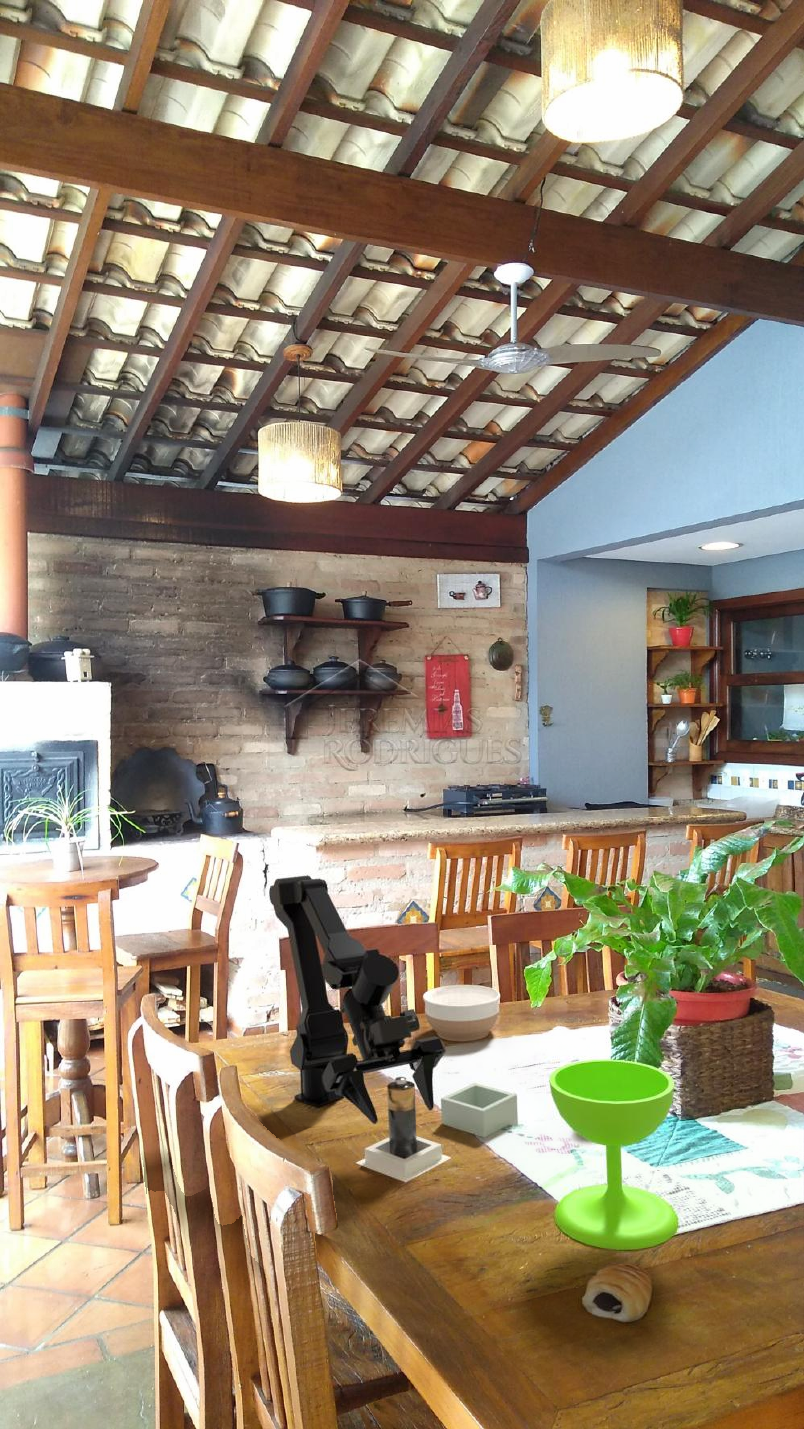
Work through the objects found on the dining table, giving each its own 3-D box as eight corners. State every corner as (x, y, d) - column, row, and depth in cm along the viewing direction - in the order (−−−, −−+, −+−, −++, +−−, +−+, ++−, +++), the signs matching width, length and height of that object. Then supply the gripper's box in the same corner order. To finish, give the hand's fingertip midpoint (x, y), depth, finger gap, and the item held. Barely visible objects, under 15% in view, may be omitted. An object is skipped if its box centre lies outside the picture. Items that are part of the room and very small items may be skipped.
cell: (384, 1161, 153) (381, 1079, 153) (402, 1152, 156) (399, 1072, 156) (404, 1168, 150) (401, 1085, 150) (423, 1159, 153) (420, 1077, 153)
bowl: (504, 1044, 207) (503, 1004, 207) (424, 1046, 207) (422, 1007, 207) (498, 1020, 223) (497, 983, 223) (423, 1022, 223) (422, 985, 223)
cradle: (355, 1169, 153) (355, 1149, 153) (401, 1147, 160) (401, 1127, 160) (406, 1189, 146) (405, 1167, 146) (451, 1164, 153) (451, 1144, 153)
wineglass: (531, 1205, 140) (526, 1072, 140) (630, 1180, 146) (625, 1052, 146) (599, 1262, 125) (593, 1112, 125) (705, 1231, 131) (701, 1089, 131)
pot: (442, 1129, 166) (441, 1098, 166) (475, 1113, 172) (474, 1083, 172) (484, 1143, 160) (483, 1111, 160) (517, 1125, 166) (516, 1094, 166)
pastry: (610, 1273, 123) (609, 1241, 123) (666, 1290, 119) (665, 1256, 119) (578, 1314, 115) (578, 1279, 115) (637, 1332, 111) (636, 1297, 111)
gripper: (326, 1003, 153) (361, 1102, 143) (437, 984, 161) (477, 1076, 151) (308, 1043, 160) (340, 1139, 150) (415, 1022, 168) (452, 1112, 158)
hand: (404, 1115), depth 152 cm, fingers open, 9 cm apart
